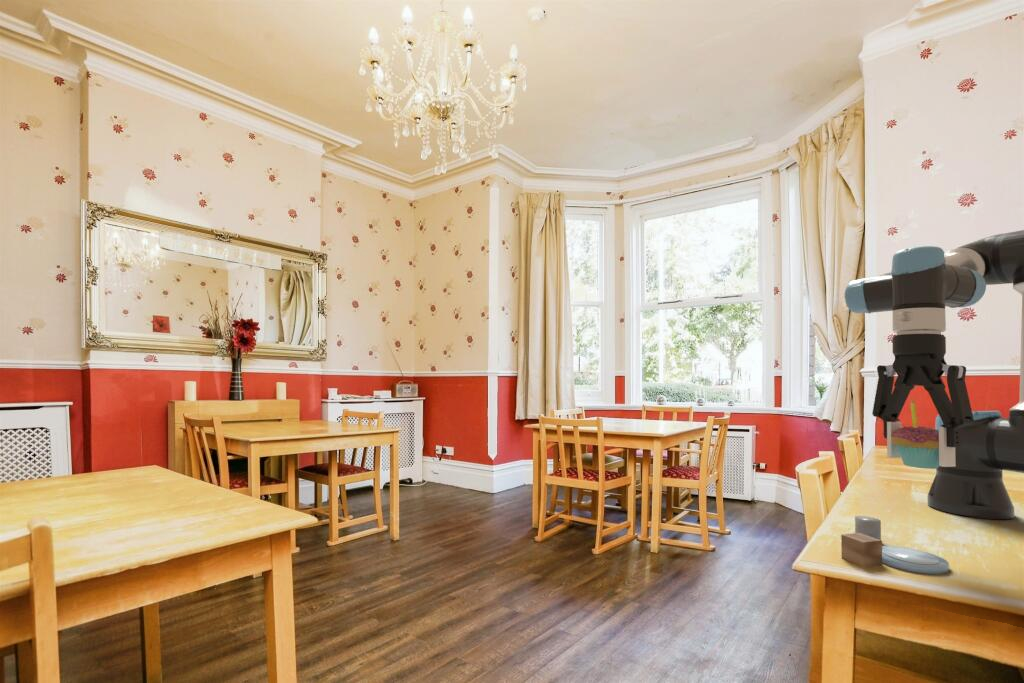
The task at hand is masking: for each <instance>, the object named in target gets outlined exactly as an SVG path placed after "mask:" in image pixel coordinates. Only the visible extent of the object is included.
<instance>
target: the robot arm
mask: <svg viewBox="0 0 1024 683" xmlns="http://www.w3.org/2000/svg"><path fill="white" fill-rule="evenodd" d="M1005 284H1006V285H1007V284H1008V285H1009V284H1012V288H1013V290H1014V291H1016V292H1017V293H1018V294H1020V295H1021V296H1022V297H1021V321H1020V322H1021V329H1020V330H1021V331H1020V332H1021V333H1020V363H1019V364H1020V366H1019V367H1020V368H1019V372H1020V373H1019V400H1018V403H1017V404H1015V405H1014V406H1011V408H1009V415H1008V416H1009V417H1003V415H1002V413H1001V411H999V410H982V411H981V410H977V411H972V407H971V402H970V397H969V393H968V388H967V384H966V375H967V374H966V373H967V367H966V366H964V365H951V364H948V363H947V362H946V359H945V355H946V353H947V342H946V340H947V339H946V338H947V337H946V336H945V335H944V334H942V333H944V332H946V330H947V328H946V326H947V325H946V324H947V322H946V321H947V320H946V307H948V308H951V309H955V308H967V307H971V306H973V305H975V304H976V303H978V302H979V301H980V300H981V299H982V298H983V296H984V295H985V293H986V290H987V286H988V285H989V286H993V285H994V286H995V285H1005ZM844 301H845V304H846V307H847V308H848V309H849V310H850V312H852V313H854V314H869V315H870V314H873V313H882V312H891V311H892V332H894V333H896V334H895V335H894V336H892V354H893V356H894V360H893V363H892V364H889V365H877V367H876V369H877V370H876V371H877V378H878V379H877V386H876V391H875V396H874V402H873V407H872V412H871V413H872V416H873V417H875V418H879V419H881V421H882V422H883V423H882V424H883V437H884V439H886V444H887V445H886V446H887V447H886V448H887V449H886V451H887V453H886V454H887V455H886V456H887V458H890V459H895V458H897V459H902V458H901V455H900V453H899V451H898V449H897V447H896V445H894V444H892V442H891V434H892V433H893V432H894V431H895V430H897V429H899V428H903V422H902V421H900V420H901V419H899V416H900V415H901V412H902V410H903V407H904V405H905V404H906V401H907V399H908V397H909V395H910V394H911V391H912V390H913V389H914V388H915V386H920V387H923V388H924V390H925V391H927V394H928V395H929V397H930V398H931V400H932V403H933V404H934V406H935V409H936V411H937V413H938V414H937V416H936V417H935V424H934V425H935V426H934V429H936V430H937V431H939V466H938V468H937V469H935V471H936V472H935V476H934V479H933V481H932V483H931V486H930V489H929V491H928V494H927V506H929V507H931V508H933V509H935V510H939V511H943V512H946V513H950V514H954V515H960V516H967V517H971V518H972V517H973V518H977V519H978V518H979V519H987V520H989V519H991V520H1010V519H1014V518H1015V506H1014V505H1013V501H1012V500H1011V497H1010V495H1009V493H1008V490H1007V488H1006V486H1005V483H1004V480H1003V478H1004V477H1003V471H1008V472H1013V473H1020V474H1024V229H1022V230H1017V231H1012V232H1006V233H999V234H995V235H990V236H987V237H983V238H980V239H978V240H975V241H973V242H969V243H967V244H964V245H961V246H958V247H955V248H952V249H949V250H947V251H944V249H943V248H942V247H939V246H935V245H934V246H933V245H932V246H929V245H928V246H927V245H926V246H924V245H922V246H915V247H914V246H913V247H907V248H904V249H903V248H902V249H900V250H898V251H896V252H895V253H894V254H893V255H892V261H891V271H890V272H887V273H883V274H880V275H876V276H872V277H863V278H859V279H853V280H851V281H850V282H848V284H847V285H846V287H845V291H844ZM896 375H897V377H896V379H895V376H896ZM943 375H944V376H946V383H947V387H948V388H947V389H948V393H947V391H946V385H945V383H944V381H943V379H942V376H943Z"/></svg>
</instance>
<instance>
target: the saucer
mask: <svg viewBox="0 0 1024 683" xmlns="http://www.w3.org/2000/svg"><path fill="white" fill-rule="evenodd" d="M883 564H884V565H886V566H888V567H892V568H894V569H898V570H902V571H905V572H911V573H917V574H924V575H944V574H947V573H949V572H950V563H949V562H948V560H946V559H944V558H943V557H941V556H938V555H936V554H933V553H929V552H927V551H924V550H919V549H915V548H910V547H903V546H895V545H882V565H883Z"/></svg>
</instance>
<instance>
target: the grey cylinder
mask: <svg viewBox="0 0 1024 683" xmlns="http://www.w3.org/2000/svg"><path fill="white" fill-rule="evenodd" d="M881 525H882V522H881V520H880V519H879V518H875V517H871V516H865V515H856V516H855V517H854V528H855V529H854V532H855V533H861V534H864V535H867V536H870V537H873V538H876V539H879V540H882V526H881Z"/></svg>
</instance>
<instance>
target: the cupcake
mask: <svg viewBox="0 0 1024 683" xmlns="http://www.w3.org/2000/svg"><path fill="white" fill-rule="evenodd" d="M910 399H911V402H910V410H911V411H910V412H911V421H912V426H903V427H902V428H899V429H897V430H895V431H894V432H893V433H892V434H891V442H892V444H894V445H896V447H897V449H898V451H899V453H900V455H901V458H900V459H901V460H902V464H903V465H904V466H907V467H911V468H918V469H928V470H936V469H937V468H938V466H939V431H937V430H936V429H935V428H932V427H926V426H919V425H918V417H917V416H918V415H917V409H916V408H917V407H916V402H914V398H913V397H912V398H910Z"/></svg>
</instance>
